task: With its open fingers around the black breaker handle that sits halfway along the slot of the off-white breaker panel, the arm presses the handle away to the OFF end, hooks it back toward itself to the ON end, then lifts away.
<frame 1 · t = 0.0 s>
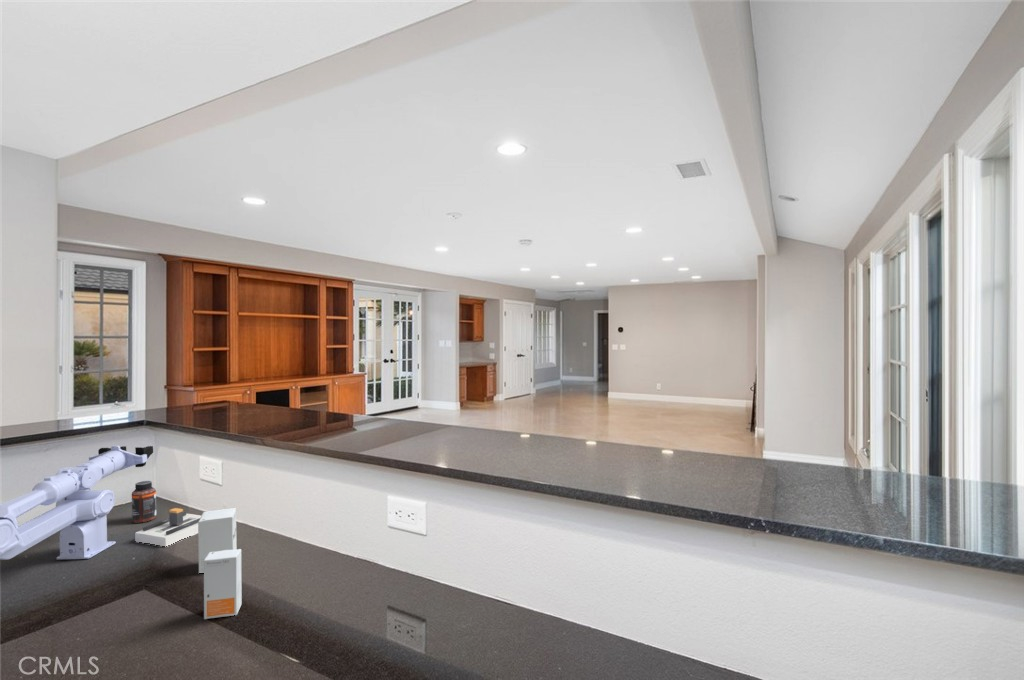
hand: (138, 449, 151), 22 cm above the countertop, tool horizontal, fingers open, 7 cm apart
skincare box: (223, 613, 104), on the countertop
supplement box: (218, 566, 124), on the countertop
supplement bottle: (144, 520, 154), on the countertop
breaker panel: (176, 533, 143), on the countertop
breaker handle: (176, 516, 143), point 5 cm above the countertop, slide at 3.0 cm
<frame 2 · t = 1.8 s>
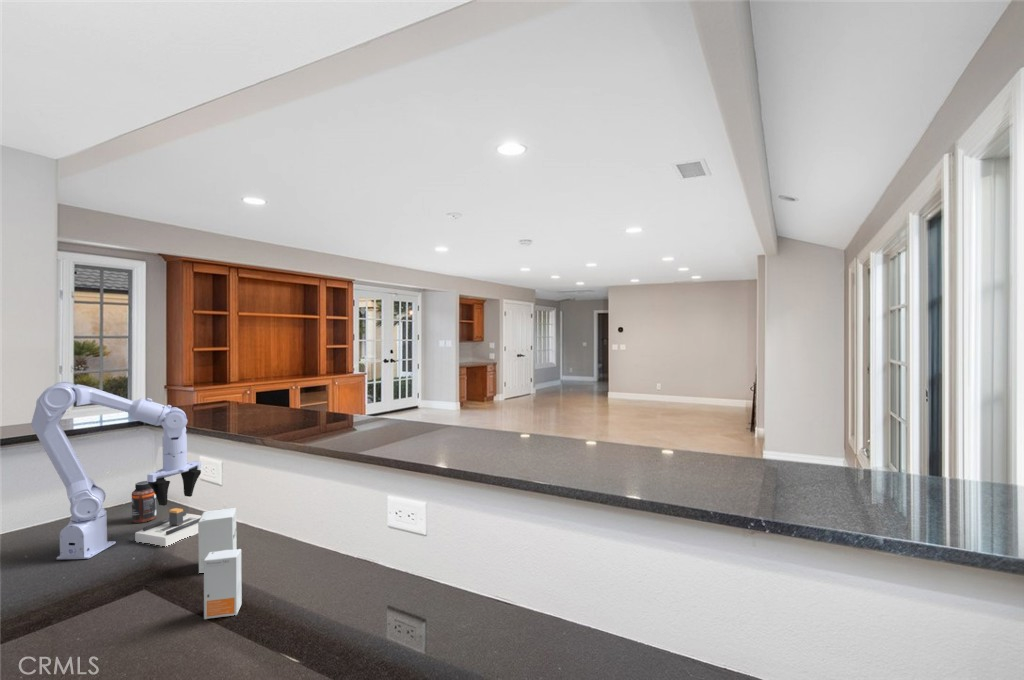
hand: (175, 500, 143), 9 cm above the countertop, tool pointing down, fingers open, 7 cm apart
nothing on the countertop moved.
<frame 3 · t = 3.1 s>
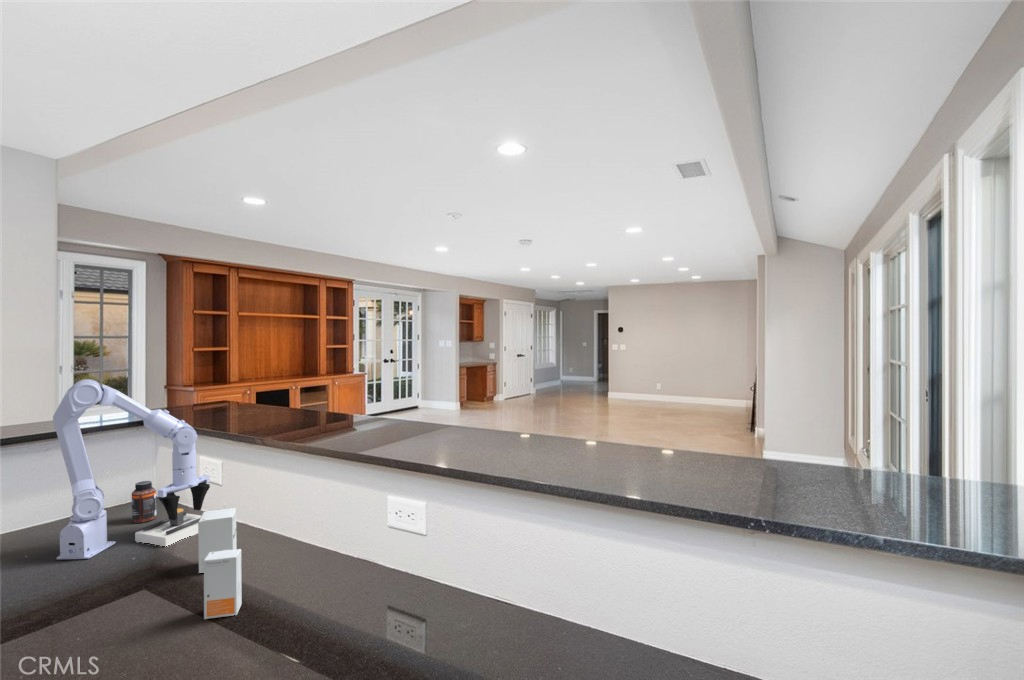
hand: (185, 514, 146), 4 cm above the countertop, tool pointing down, fingers open, 7 cm apart
breaker handle: (176, 516, 143), point 5 cm above the countertop, slide at 3.2 cm, touching gripper
everything else where it was.
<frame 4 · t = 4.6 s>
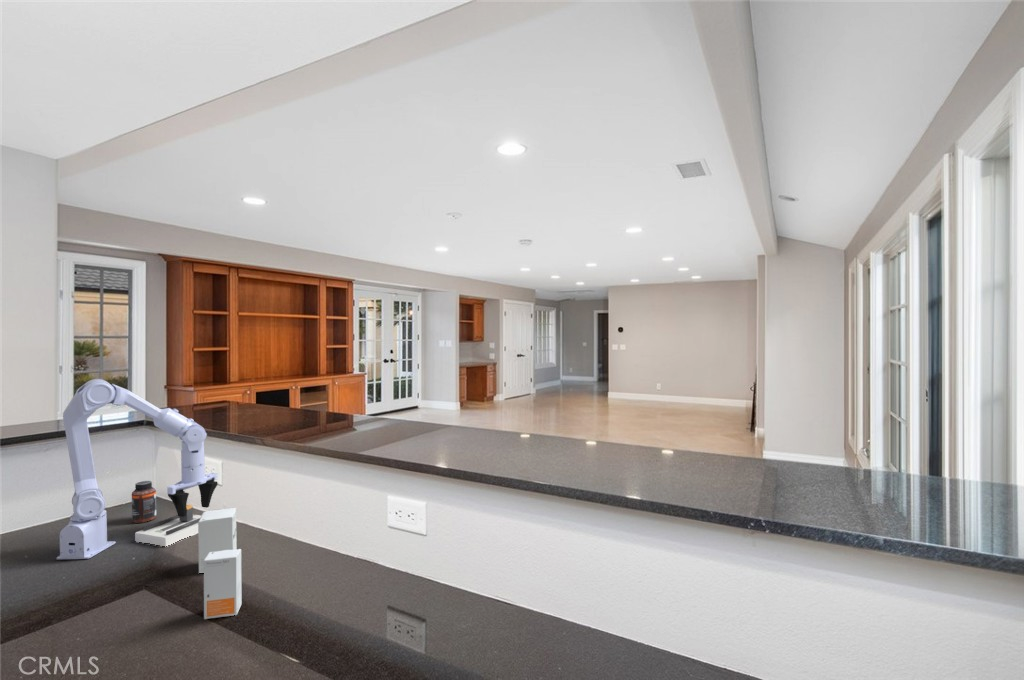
hand: (193, 511, 148), 4 cm above the countertop, tool pointing down, fingers open, 7 cm apart
breaker handle: (186, 512, 146), point 5 cm above the countertop, slide at 6.1 cm
everything else where it was.
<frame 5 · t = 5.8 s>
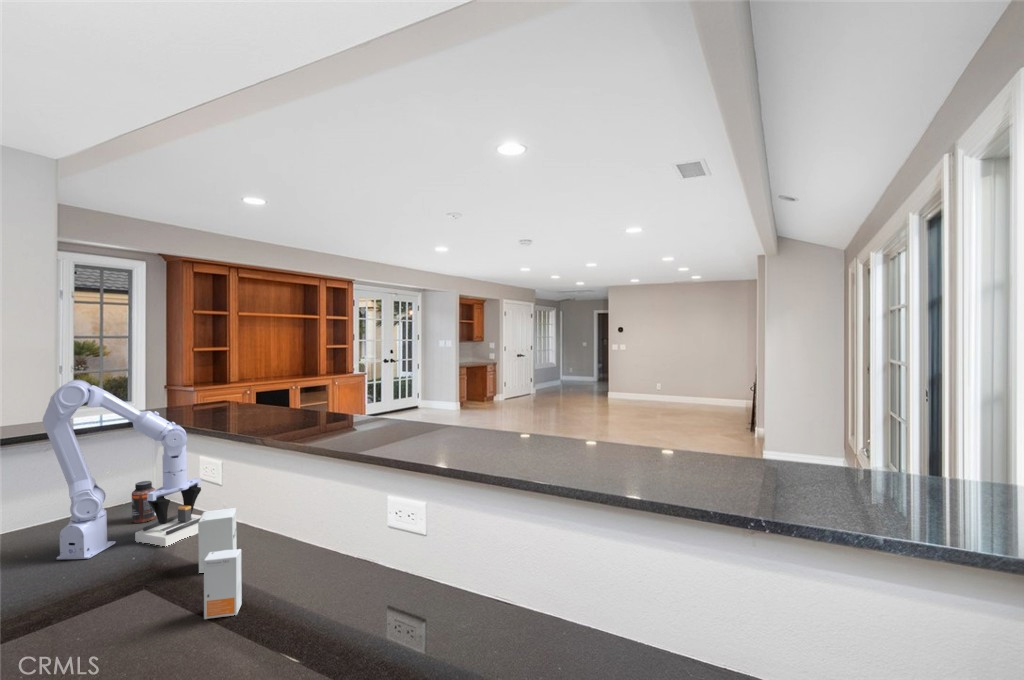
hand: (175, 518, 143), 4 cm above the countertop, tool pointing down, fingers open, 7 cm apart
breaker handle: (184, 513, 146), point 5 cm above the countertop, slide at 5.6 cm, touching gripper
everything else where it was.
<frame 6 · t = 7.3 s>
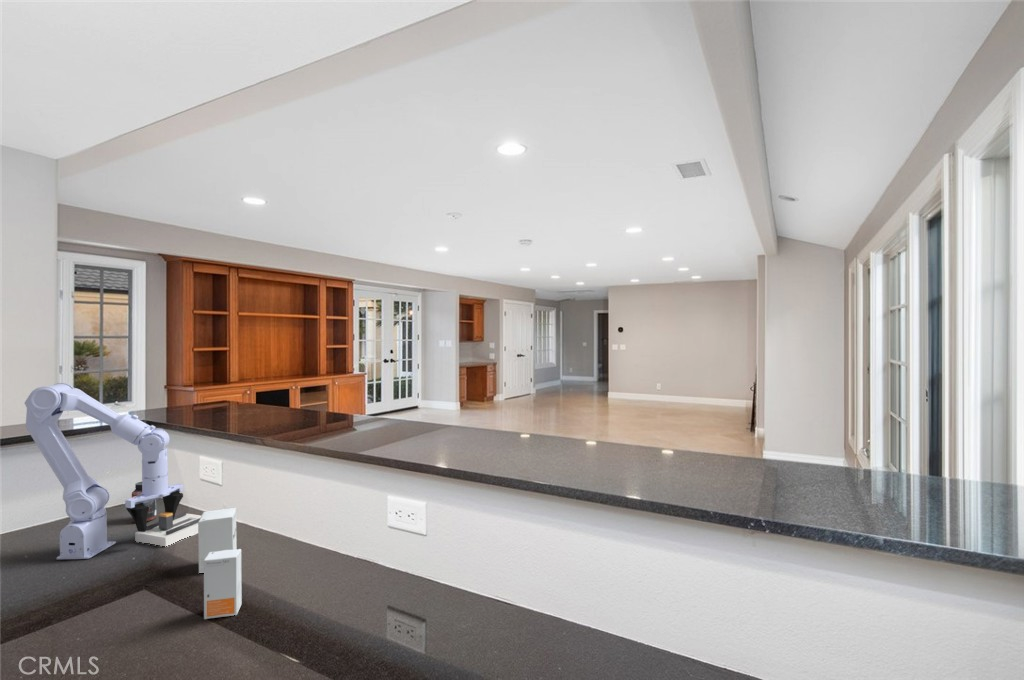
hand: (156, 525, 138), 4 cm above the countertop, tool pointing down, fingers open, 7 cm apart
breaker handle: (165, 520, 140), point 5 cm above the countertop, slide at -0.1 cm, touching gripper
everything else where it was.
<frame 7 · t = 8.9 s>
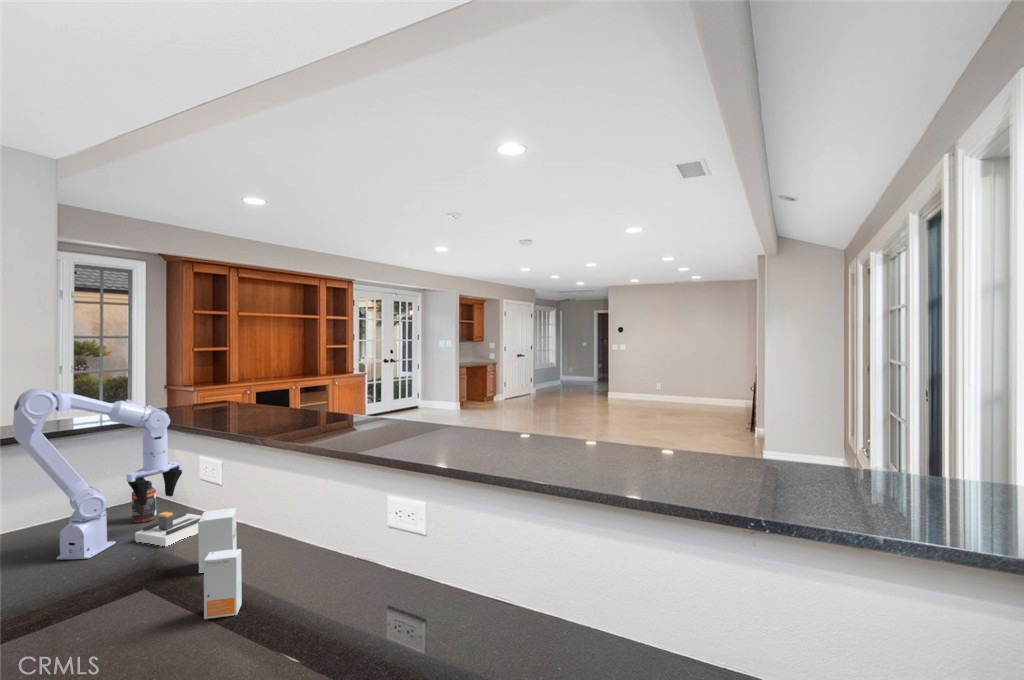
hand: (156, 500, 143), 9 cm above the countertop, tool pointing down, fingers open, 7 cm apart
breaker handle: (165, 520, 140), point 5 cm above the countertop, slide at -0.1 cm
everything else where it was.
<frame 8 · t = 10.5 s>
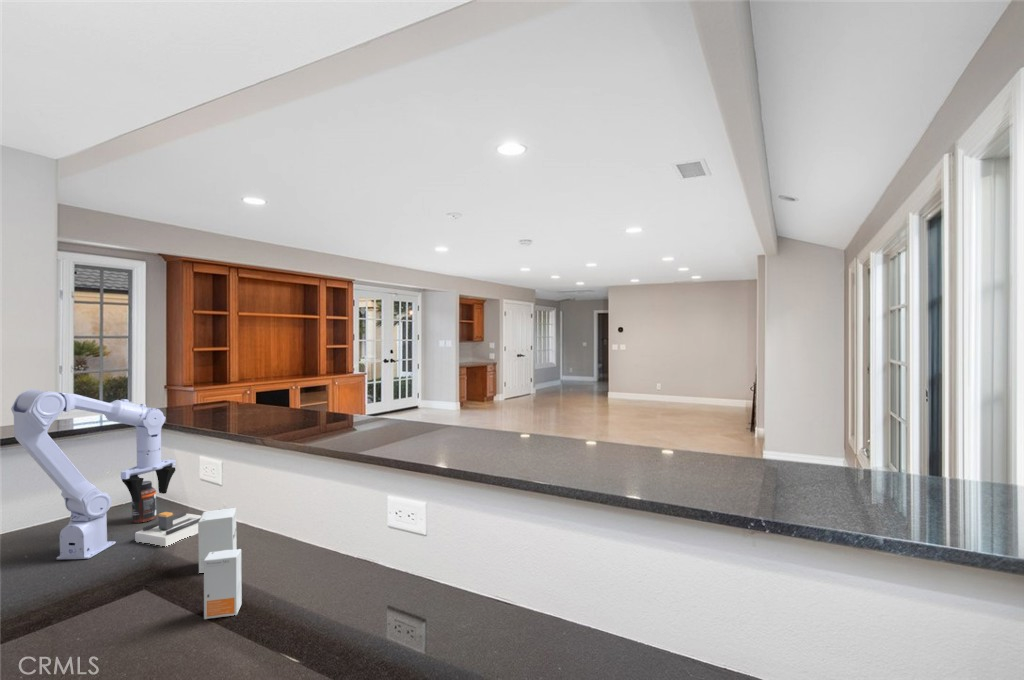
hand: (150, 497, 146), 9 cm above the countertop, tool pointing down, fingers open, 7 cm apart
nothing on the countertop moved.
at the end: breaker handle slide at -0.1 cm; the gripper is holding nothing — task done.
